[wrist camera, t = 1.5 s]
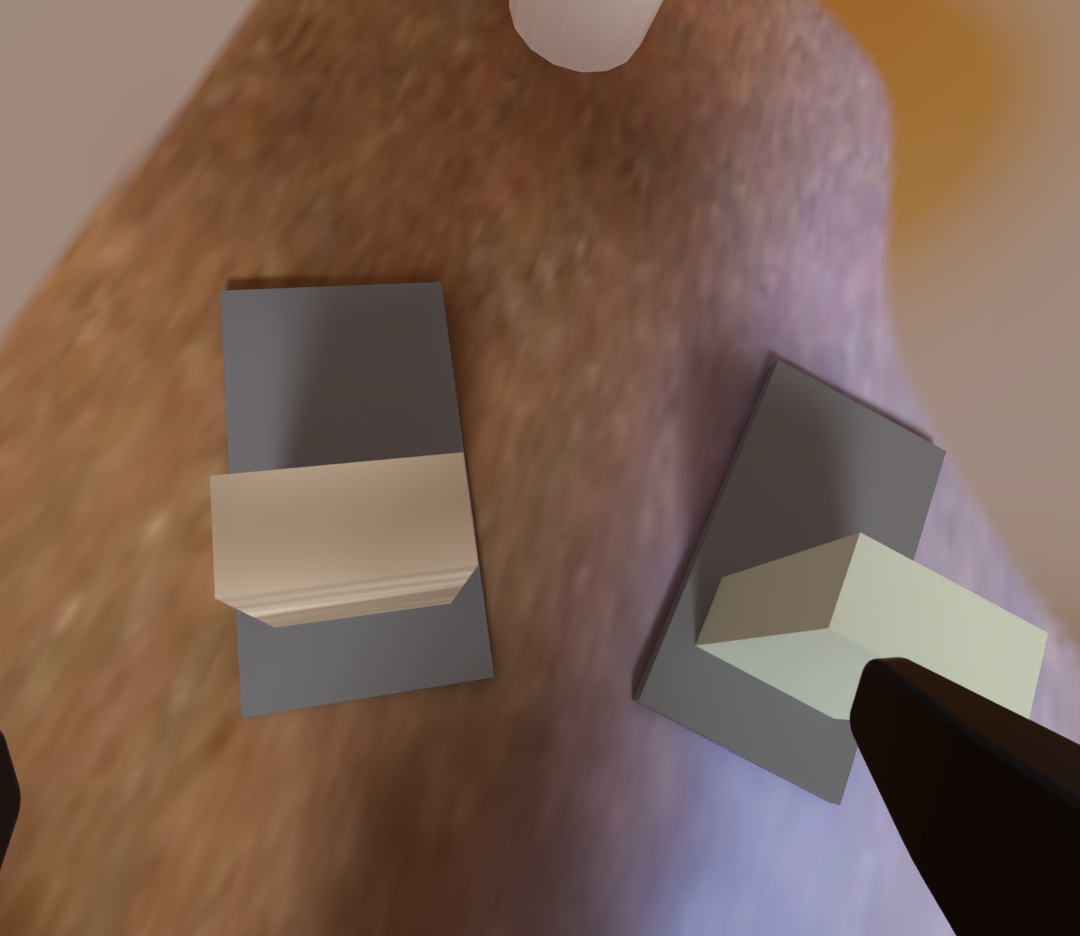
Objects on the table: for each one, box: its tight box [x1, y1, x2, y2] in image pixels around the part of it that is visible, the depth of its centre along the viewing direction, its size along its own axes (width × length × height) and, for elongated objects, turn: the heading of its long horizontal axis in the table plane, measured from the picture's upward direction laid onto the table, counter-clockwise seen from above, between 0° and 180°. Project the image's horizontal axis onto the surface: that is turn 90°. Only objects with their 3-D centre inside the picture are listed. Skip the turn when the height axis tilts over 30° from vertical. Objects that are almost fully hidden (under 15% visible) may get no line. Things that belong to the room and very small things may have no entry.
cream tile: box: [210, 452, 478, 628], centre depth 18 cm, size 2×5×8 cm, turn 98°
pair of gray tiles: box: [220, 282, 946, 805], centre depth 24 cm, size 25×18×1 cm
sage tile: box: [695, 532, 1048, 720], centre depth 20 cm, size 2×5×8 cm, turn 62°
